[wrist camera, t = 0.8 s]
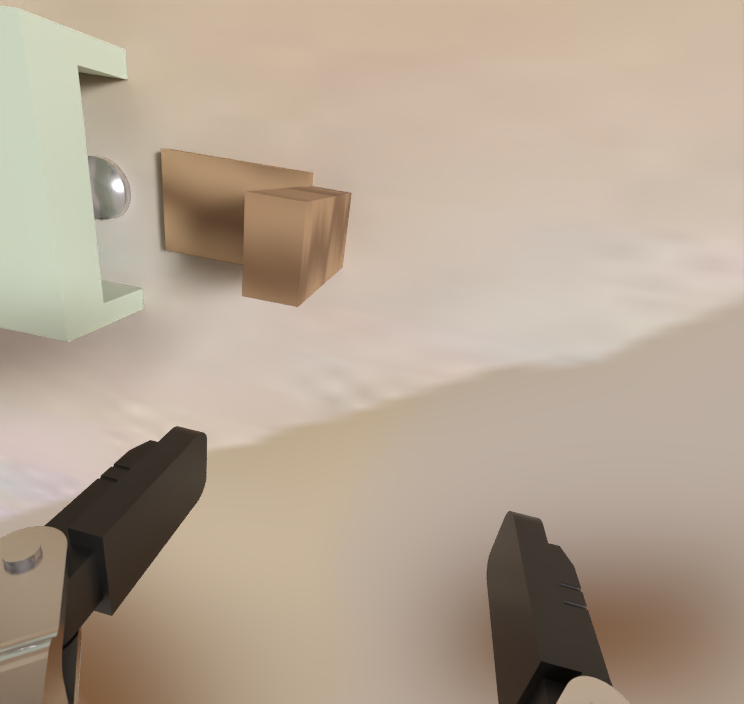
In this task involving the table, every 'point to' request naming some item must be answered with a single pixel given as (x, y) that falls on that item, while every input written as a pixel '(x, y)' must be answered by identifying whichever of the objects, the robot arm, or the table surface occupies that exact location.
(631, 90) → the table surface
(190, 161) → the brown wooden block
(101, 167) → the disc
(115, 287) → the pale green bench
